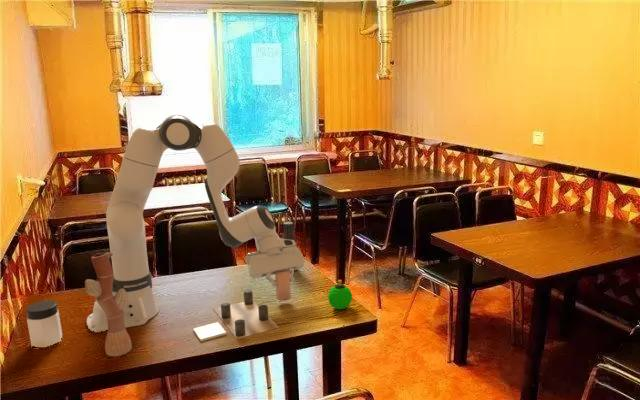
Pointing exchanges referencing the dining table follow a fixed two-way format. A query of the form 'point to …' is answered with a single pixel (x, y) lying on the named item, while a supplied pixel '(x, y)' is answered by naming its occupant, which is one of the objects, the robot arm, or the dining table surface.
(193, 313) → the dining table surface
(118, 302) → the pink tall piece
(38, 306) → the jar
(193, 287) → the dining table surface
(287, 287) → the tan cylinder block
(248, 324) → the post board
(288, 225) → the sauce bottle
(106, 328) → the robot arm
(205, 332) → the mat
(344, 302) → the ornament
